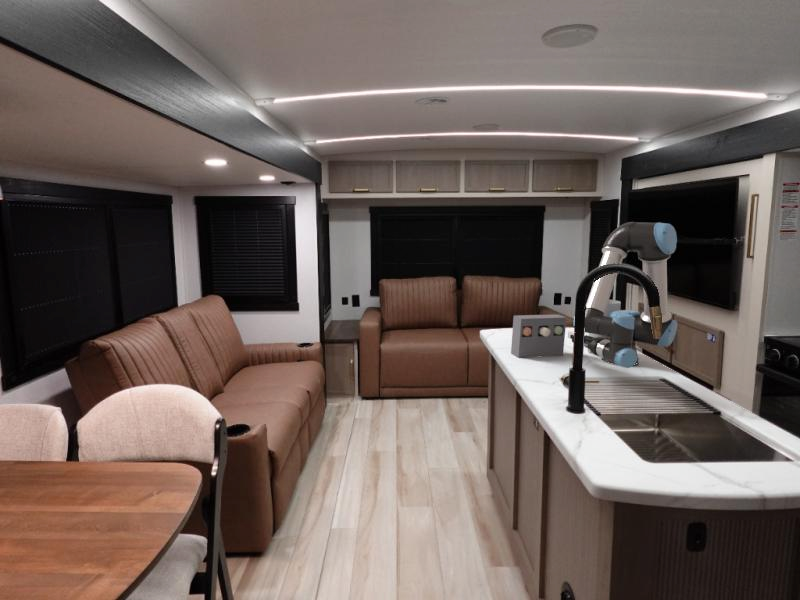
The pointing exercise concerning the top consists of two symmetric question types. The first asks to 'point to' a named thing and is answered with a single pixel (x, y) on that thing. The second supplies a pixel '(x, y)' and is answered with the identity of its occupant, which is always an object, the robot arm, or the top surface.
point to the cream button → (544, 331)
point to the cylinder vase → (608, 315)
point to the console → (537, 336)
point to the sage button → (557, 329)
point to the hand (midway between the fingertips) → (569, 334)
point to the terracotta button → (526, 331)
